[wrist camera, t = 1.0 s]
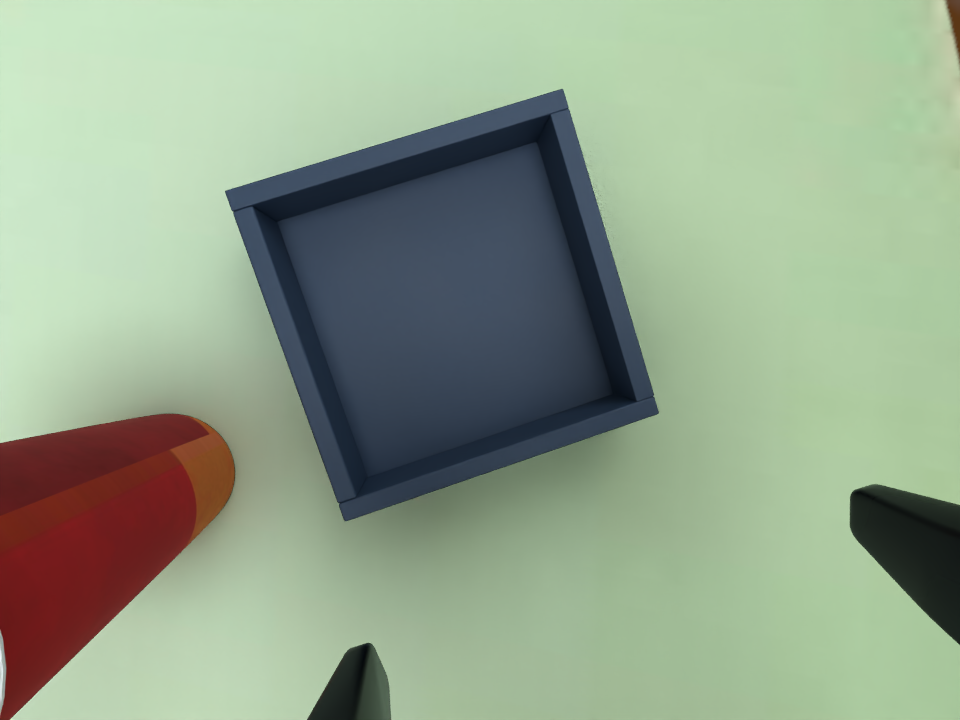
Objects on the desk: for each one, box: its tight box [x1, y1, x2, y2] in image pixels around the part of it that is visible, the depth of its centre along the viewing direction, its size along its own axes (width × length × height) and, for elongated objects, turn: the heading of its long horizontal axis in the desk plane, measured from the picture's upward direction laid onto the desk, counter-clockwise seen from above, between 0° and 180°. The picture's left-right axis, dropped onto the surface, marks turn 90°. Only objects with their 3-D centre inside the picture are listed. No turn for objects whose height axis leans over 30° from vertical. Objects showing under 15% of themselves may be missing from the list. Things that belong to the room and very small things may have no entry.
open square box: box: [225, 89, 659, 521], centre depth 20 cm, size 14×14×4 cm
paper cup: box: [0, 414, 235, 720], centre depth 15 cm, size 8×8×14 cm
